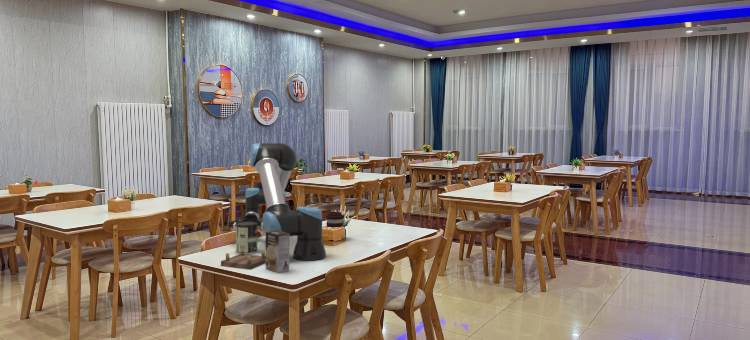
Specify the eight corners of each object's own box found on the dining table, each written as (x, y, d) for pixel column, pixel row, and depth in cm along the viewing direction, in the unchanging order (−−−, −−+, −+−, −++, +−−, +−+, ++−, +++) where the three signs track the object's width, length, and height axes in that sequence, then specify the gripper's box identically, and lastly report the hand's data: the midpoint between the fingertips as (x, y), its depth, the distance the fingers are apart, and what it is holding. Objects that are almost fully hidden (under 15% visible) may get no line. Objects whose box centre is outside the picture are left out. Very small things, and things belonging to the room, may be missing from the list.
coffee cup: (326, 242, 278) (326, 214, 277) (324, 238, 288) (324, 211, 287) (345, 241, 280) (345, 213, 279) (342, 237, 290) (342, 210, 289)
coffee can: (256, 249, 261) (256, 220, 260) (258, 253, 251) (258, 224, 250) (234, 250, 258) (234, 221, 257) (236, 255, 248) (235, 225, 247)
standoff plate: (269, 261, 238) (269, 250, 238) (250, 269, 224) (250, 257, 224) (241, 257, 243) (241, 247, 243) (220, 265, 229) (220, 254, 229)
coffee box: (264, 269, 225) (264, 231, 224) (276, 266, 230) (276, 229, 229) (278, 273, 219) (278, 235, 218) (290, 270, 224) (290, 232, 223)
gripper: (274, 226, 287) (273, 234, 266) (227, 226, 283) (222, 235, 262) (274, 212, 286) (273, 219, 266) (227, 212, 282) (222, 220, 262)
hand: (247, 227), depth 264 cm, fingers open, 13 cm apart
